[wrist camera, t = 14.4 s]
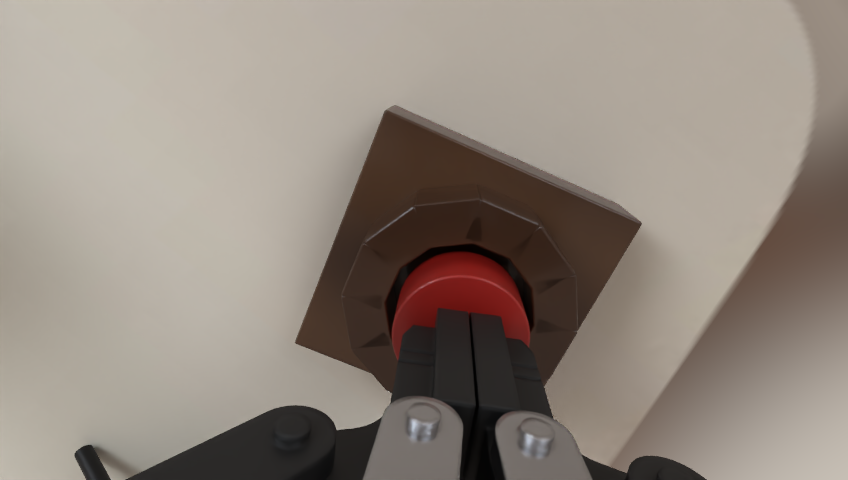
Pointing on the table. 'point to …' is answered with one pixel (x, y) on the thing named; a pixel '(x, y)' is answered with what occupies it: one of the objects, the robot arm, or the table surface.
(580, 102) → the table surface
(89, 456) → the power plug
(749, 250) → the table surface
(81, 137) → the table surface
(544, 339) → the button block
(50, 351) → the table surface
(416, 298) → the button
